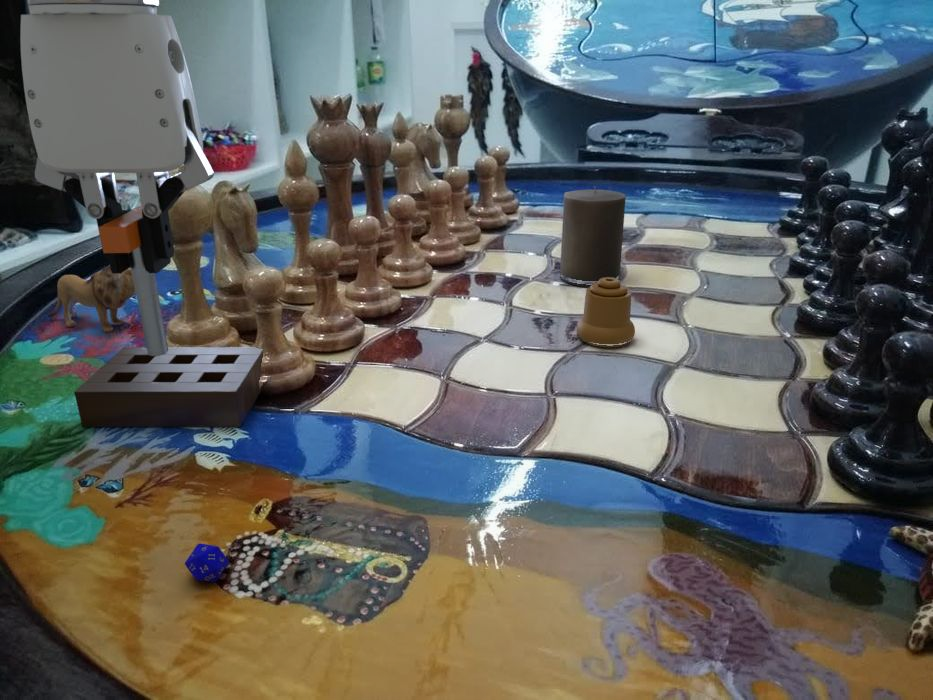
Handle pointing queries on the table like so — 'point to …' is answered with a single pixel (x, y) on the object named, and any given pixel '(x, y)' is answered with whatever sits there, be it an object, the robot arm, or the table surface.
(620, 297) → the ornamental finial
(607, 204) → the pillar candle
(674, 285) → the table surface
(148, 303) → the t handle
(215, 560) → the die
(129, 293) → the lion figurine
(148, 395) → the tool rack
